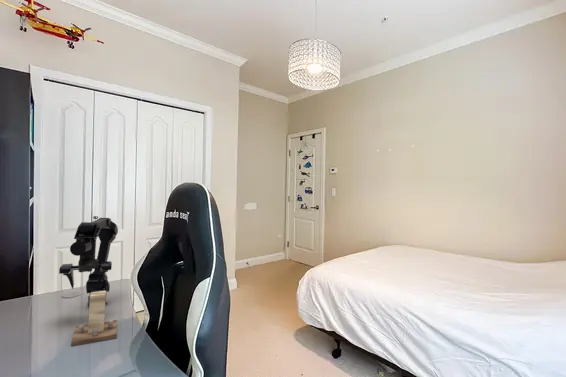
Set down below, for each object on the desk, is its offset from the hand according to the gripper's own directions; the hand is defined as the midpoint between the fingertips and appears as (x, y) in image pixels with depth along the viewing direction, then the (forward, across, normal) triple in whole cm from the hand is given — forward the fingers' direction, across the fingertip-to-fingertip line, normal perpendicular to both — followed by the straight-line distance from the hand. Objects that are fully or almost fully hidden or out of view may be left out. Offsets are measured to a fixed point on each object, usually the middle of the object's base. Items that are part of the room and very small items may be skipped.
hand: (85, 287), depth 128 cm
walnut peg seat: (+13, +5, -20) cm, 24 cm away
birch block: (+12, +6, -20) cm, 23 cm away
